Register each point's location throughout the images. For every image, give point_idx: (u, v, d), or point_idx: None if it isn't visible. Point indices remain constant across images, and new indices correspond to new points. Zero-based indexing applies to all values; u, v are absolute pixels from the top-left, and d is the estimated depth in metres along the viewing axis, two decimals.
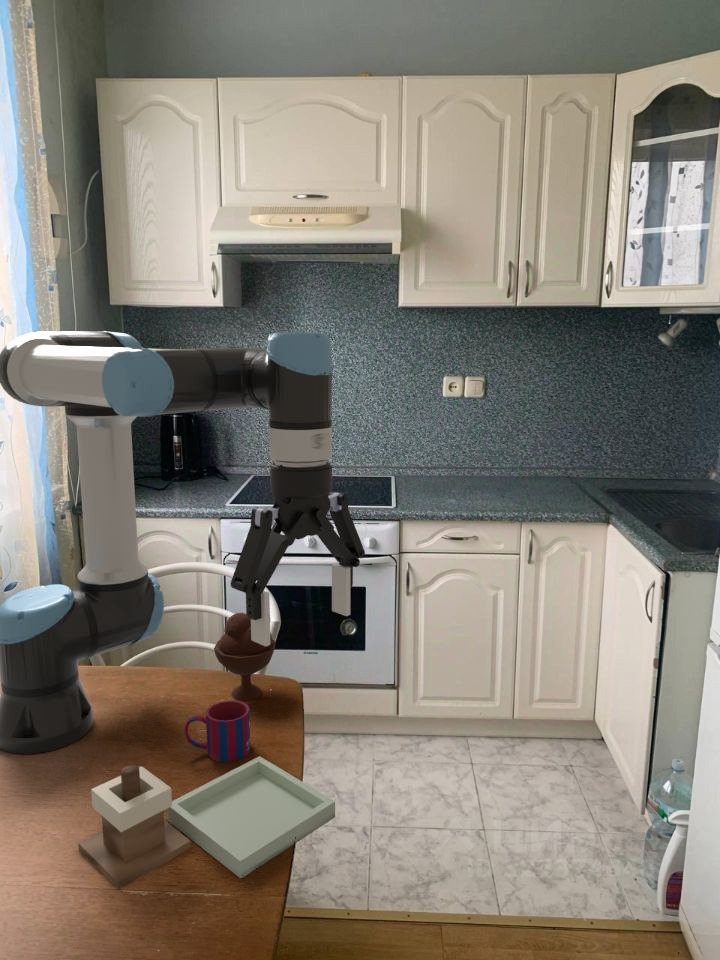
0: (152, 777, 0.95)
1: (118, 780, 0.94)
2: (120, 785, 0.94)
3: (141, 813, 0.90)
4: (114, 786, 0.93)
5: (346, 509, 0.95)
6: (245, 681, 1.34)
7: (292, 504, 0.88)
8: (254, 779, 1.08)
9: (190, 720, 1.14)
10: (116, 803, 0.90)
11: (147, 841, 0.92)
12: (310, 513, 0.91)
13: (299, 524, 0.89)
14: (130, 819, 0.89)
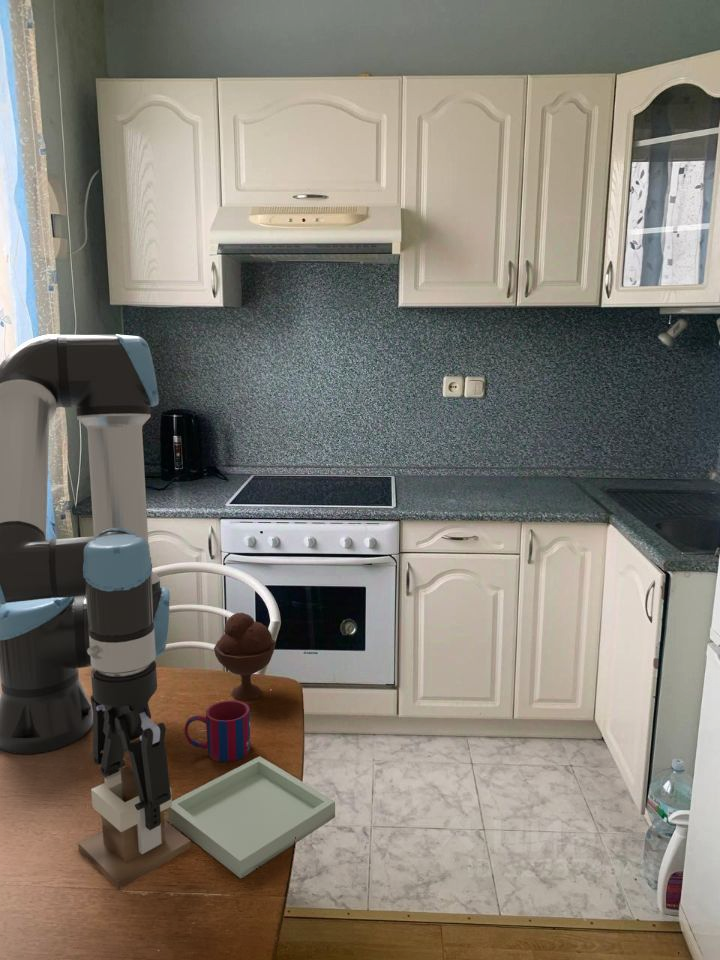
0: None
1: (118, 780, 0.94)
2: (120, 785, 0.94)
3: None
4: (114, 786, 0.93)
5: (145, 746, 0.86)
6: (245, 681, 1.34)
7: None
8: (254, 779, 1.08)
9: (190, 720, 1.14)
10: (116, 803, 0.90)
11: None
12: (119, 714, 0.89)
13: (106, 720, 0.91)
14: (130, 819, 0.89)
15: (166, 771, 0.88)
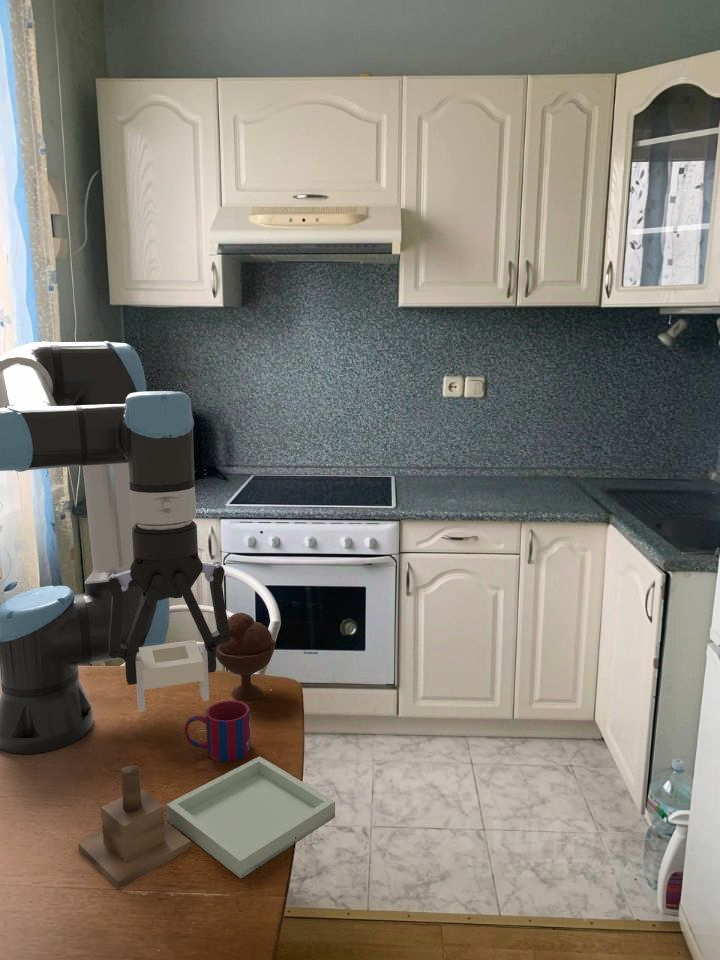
0: (165, 644, 0.94)
1: (148, 658, 0.90)
2: None
3: None
4: (154, 660, 0.89)
5: (219, 583, 0.91)
6: (245, 681, 1.34)
7: (142, 564, 0.87)
8: (254, 779, 1.08)
9: (190, 720, 1.14)
10: (185, 661, 0.89)
11: (147, 841, 0.92)
12: (172, 573, 0.88)
13: (154, 587, 0.87)
14: None
15: None
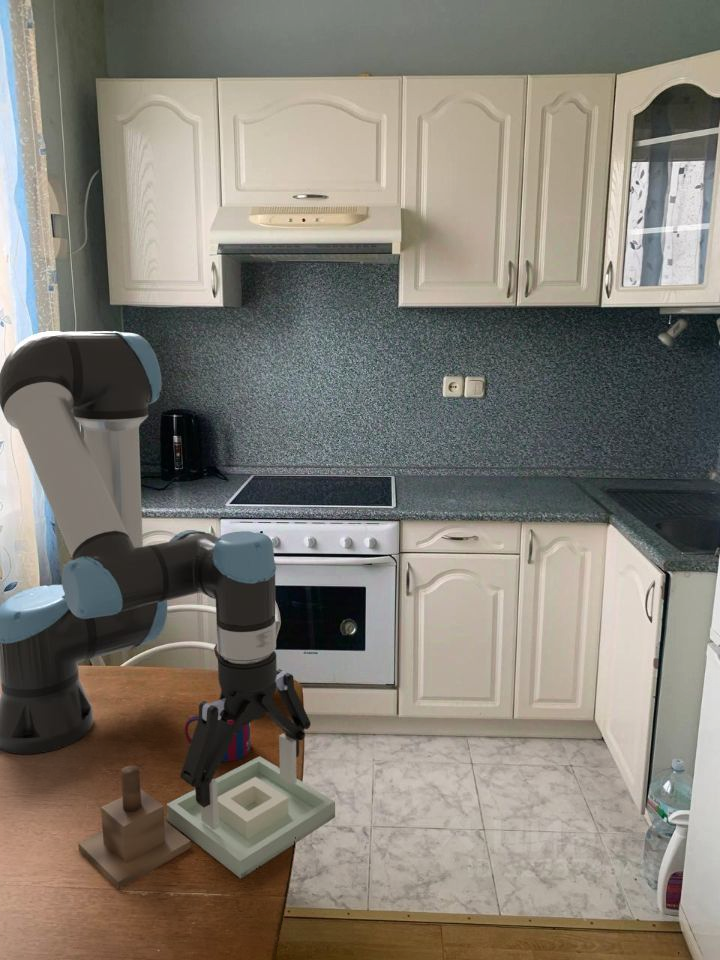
0: (235, 789, 1.02)
1: (236, 807, 0.98)
2: None
3: None
4: (244, 809, 0.97)
5: (292, 688, 1.01)
6: None
7: (238, 695, 0.94)
8: None
9: (190, 720, 1.14)
10: (273, 802, 0.99)
11: (147, 841, 0.92)
12: (256, 699, 0.96)
13: (245, 714, 0.94)
14: None
15: None
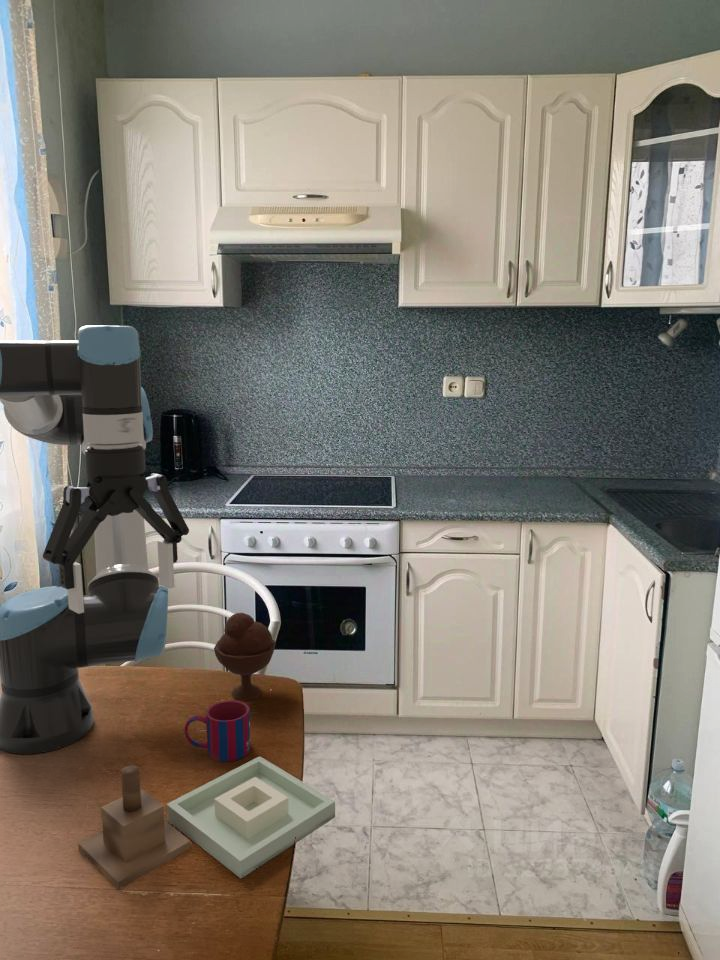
0: (235, 789, 1.02)
1: (236, 807, 0.98)
2: None
3: None
4: (244, 809, 0.97)
5: (165, 489, 1.03)
6: (245, 681, 1.34)
7: (103, 483, 0.96)
8: None
9: (190, 720, 1.14)
10: (273, 802, 0.99)
11: (147, 841, 0.92)
12: (124, 492, 0.99)
13: (110, 502, 0.97)
14: None
15: None
